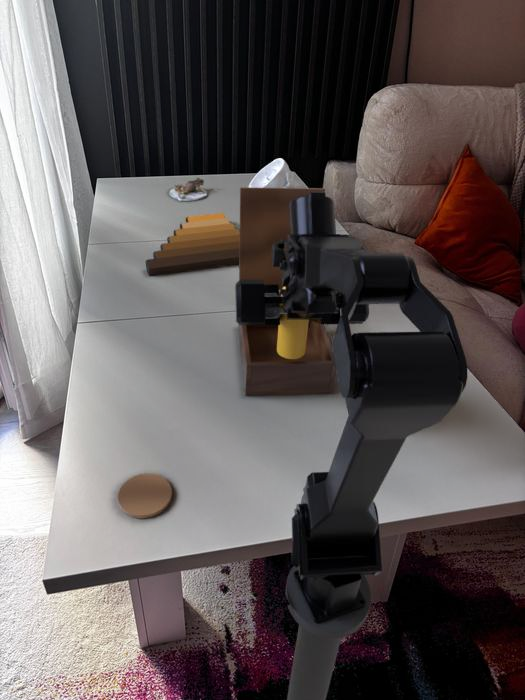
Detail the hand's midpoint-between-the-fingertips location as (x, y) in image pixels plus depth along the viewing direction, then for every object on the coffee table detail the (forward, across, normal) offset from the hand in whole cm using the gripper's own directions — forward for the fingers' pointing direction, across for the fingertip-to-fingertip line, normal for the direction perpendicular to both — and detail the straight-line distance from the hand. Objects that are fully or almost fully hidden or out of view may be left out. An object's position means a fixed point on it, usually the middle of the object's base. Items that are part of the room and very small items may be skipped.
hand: (292, 315), depth 86 cm
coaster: (-7, +22, +26) cm, 35 cm away
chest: (+14, 0, +5) cm, 15 cm away
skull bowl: (+71, -8, -53) cm, 89 cm away
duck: (+3, 0, +5) cm, 6 cm away
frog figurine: (+73, +18, -55) cm, 93 cm away
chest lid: (+10, 0, -15) cm, 18 cm away
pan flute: (+47, +17, -28) cm, 57 cm away
